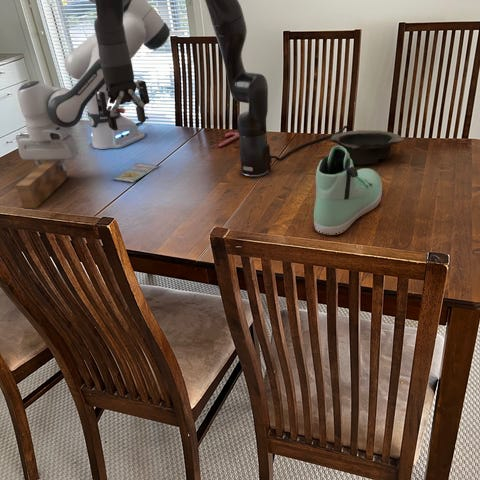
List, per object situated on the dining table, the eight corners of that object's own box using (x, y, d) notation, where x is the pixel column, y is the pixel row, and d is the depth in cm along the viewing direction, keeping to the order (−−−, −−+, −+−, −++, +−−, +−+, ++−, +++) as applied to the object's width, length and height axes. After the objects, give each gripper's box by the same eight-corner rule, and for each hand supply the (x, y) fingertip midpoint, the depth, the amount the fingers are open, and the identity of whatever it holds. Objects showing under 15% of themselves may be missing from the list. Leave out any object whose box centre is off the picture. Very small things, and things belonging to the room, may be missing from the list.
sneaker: (389, 187, 148) (396, 123, 138) (356, 242, 123) (361, 168, 112) (346, 181, 154) (350, 119, 144) (306, 232, 129) (307, 161, 118)
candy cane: (208, 146, 191) (208, 142, 190) (230, 134, 201) (230, 130, 201) (220, 148, 188) (220, 144, 187) (242, 136, 198) (242, 132, 197)
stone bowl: (361, 175, 156) (361, 148, 152) (316, 158, 177) (315, 133, 172) (418, 157, 165) (419, 130, 161) (369, 142, 185) (369, 118, 181)
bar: (56, 177, 174) (50, 156, 170) (68, 177, 174) (62, 156, 169) (23, 208, 154) (15, 185, 150) (36, 208, 154) (28, 185, 150)
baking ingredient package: (112, 178, 168) (138, 163, 180) (113, 179, 168) (138, 164, 180) (133, 181, 165) (157, 165, 176) (133, 182, 165) (158, 166, 176)
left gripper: (9, 136, 160) (22, 174, 167) (66, 134, 157) (77, 173, 164) (19, 129, 165) (31, 167, 172) (74, 128, 162) (84, 166, 169)
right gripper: (99, 69, 113) (113, 135, 121) (148, 58, 121) (158, 120, 130) (83, 66, 118) (97, 130, 126) (131, 55, 126) (142, 116, 134)
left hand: (53, 170), depth 168 cm, fingers open, 6 cm apart
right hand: (128, 125), depth 128 cm, fingers open, 8 cm apart
